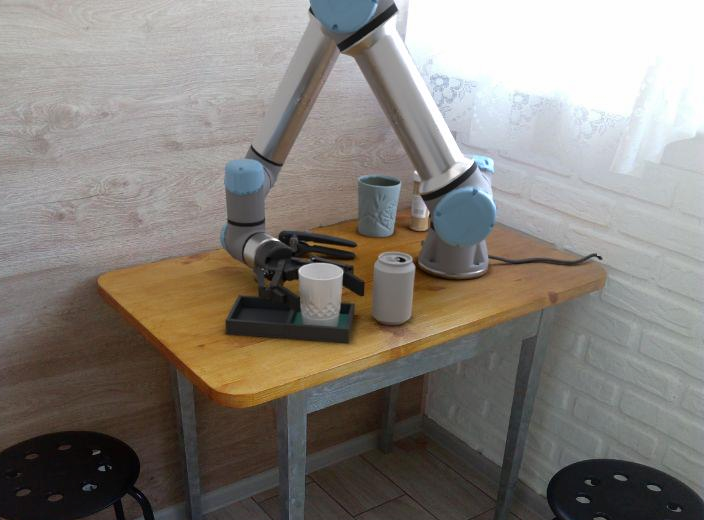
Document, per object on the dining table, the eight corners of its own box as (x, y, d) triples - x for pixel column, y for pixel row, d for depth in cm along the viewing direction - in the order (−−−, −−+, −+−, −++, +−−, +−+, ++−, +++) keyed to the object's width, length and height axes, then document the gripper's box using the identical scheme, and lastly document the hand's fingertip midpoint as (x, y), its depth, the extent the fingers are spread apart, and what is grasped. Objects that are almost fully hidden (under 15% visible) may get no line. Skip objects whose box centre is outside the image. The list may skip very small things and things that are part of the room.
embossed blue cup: (350, 226, 187) (352, 175, 180) (388, 223, 190) (392, 173, 183) (363, 240, 180) (366, 187, 172) (403, 236, 182) (408, 184, 175)
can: (416, 324, 143) (422, 262, 136) (378, 328, 141) (382, 265, 134) (402, 308, 149) (407, 247, 142) (366, 312, 147) (369, 250, 140)
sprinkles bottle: (431, 228, 188) (437, 171, 180) (421, 233, 185) (427, 175, 177) (415, 224, 190) (420, 167, 182) (405, 229, 187) (410, 171, 179)
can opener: (274, 258, 168) (274, 233, 165) (280, 247, 174) (280, 222, 170) (355, 264, 167) (356, 239, 163) (358, 253, 172) (359, 228, 169)
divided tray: (354, 316, 145) (354, 303, 144) (348, 343, 136) (349, 329, 135) (239, 308, 147) (238, 294, 145) (226, 334, 138) (225, 320, 136)
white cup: (336, 335, 137) (338, 281, 131) (293, 330, 138) (293, 276, 132) (345, 317, 143) (347, 265, 137) (304, 312, 144) (304, 260, 138)
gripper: (324, 265, 157) (386, 302, 143) (214, 290, 145) (270, 332, 131) (325, 229, 152) (389, 263, 138) (211, 251, 141) (268, 290, 127)
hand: (331, 297), depth 135 cm, fingers open, 13 cm apart
